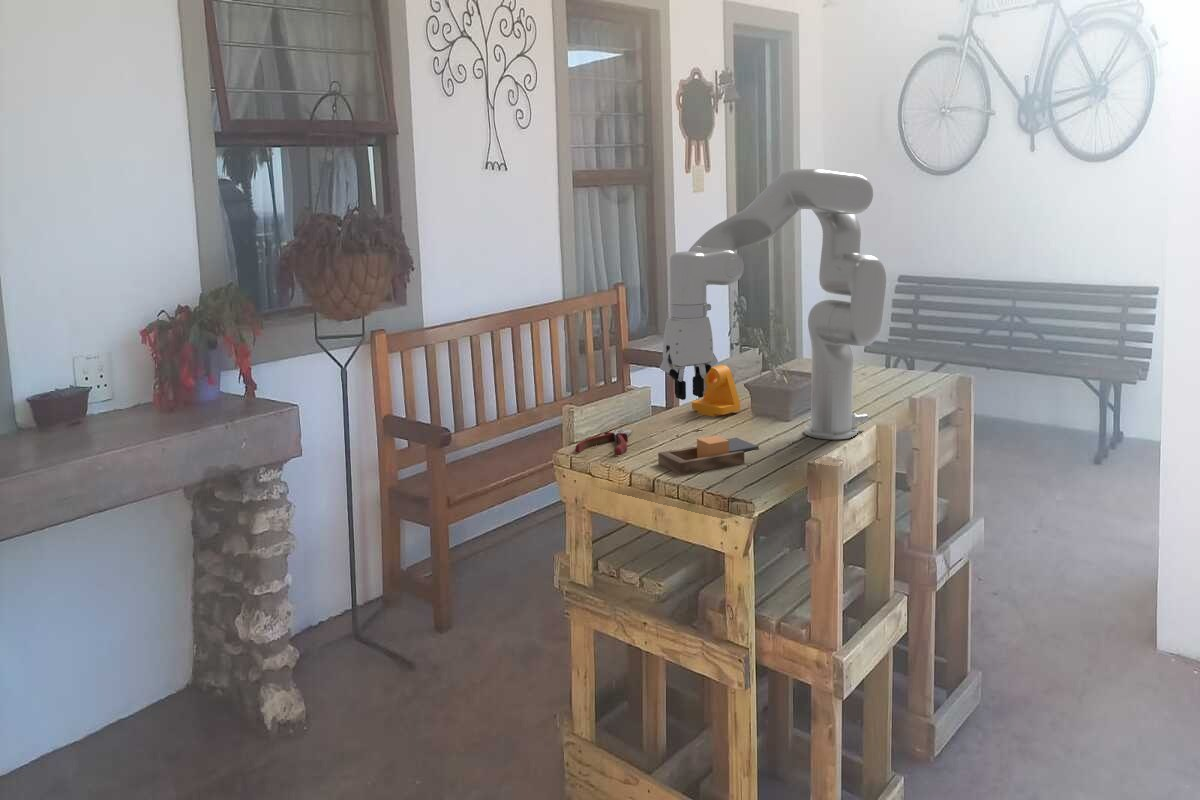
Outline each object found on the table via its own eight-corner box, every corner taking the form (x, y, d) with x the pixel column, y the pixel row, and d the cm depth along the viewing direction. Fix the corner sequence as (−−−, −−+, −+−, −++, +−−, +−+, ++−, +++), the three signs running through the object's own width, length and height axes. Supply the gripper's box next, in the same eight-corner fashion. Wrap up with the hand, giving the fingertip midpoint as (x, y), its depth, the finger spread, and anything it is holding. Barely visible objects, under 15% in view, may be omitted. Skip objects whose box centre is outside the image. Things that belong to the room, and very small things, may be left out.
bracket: (690, 411, 272) (689, 366, 269) (708, 406, 277) (708, 362, 274) (721, 418, 264) (721, 372, 261) (740, 413, 269) (740, 367, 266)
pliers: (649, 436, 251) (649, 425, 250) (620, 459, 233) (620, 447, 232) (605, 433, 255) (605, 422, 254) (573, 455, 237) (573, 444, 236)
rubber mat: (736, 440, 243) (736, 437, 243) (758, 448, 235) (758, 446, 235) (707, 444, 240) (707, 442, 240) (728, 454, 232) (728, 451, 232)
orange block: (716, 457, 230) (716, 435, 229) (729, 462, 226) (728, 440, 224) (697, 460, 228) (697, 438, 227) (709, 466, 223) (709, 444, 222)
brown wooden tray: (720, 452, 233) (720, 442, 232) (744, 463, 225) (744, 451, 224) (658, 463, 226) (658, 452, 226) (680, 474, 218) (680, 463, 217)
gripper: (712, 306, 223) (713, 389, 228) (644, 313, 216) (646, 398, 221) (731, 310, 217) (732, 395, 221) (662, 317, 210) (664, 405, 214)
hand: (689, 396), depth 221 cm, fingers open, 3 cm apart
